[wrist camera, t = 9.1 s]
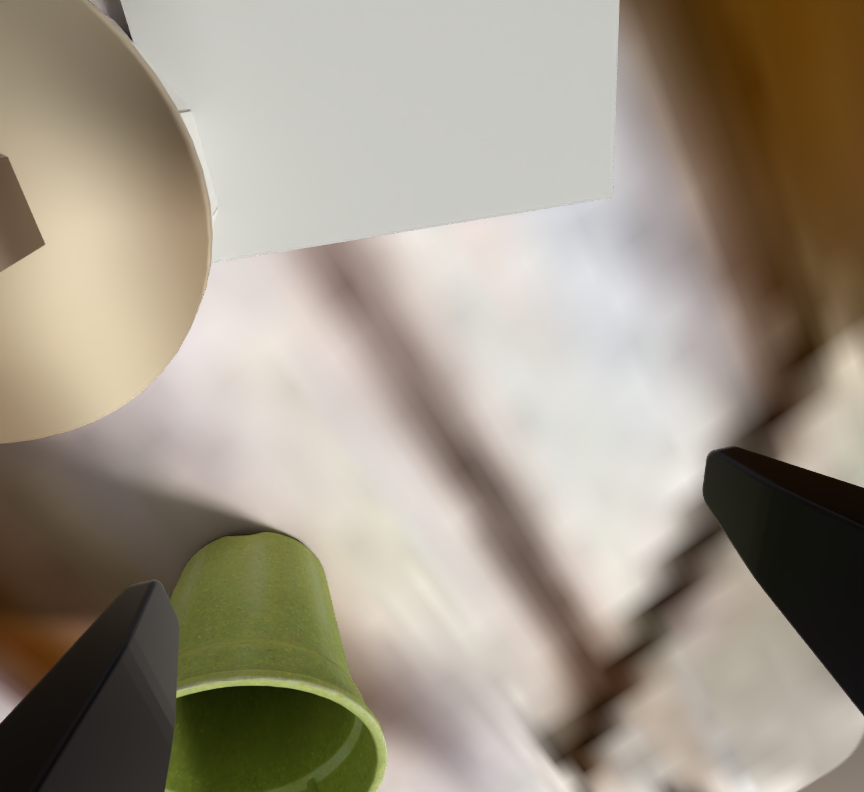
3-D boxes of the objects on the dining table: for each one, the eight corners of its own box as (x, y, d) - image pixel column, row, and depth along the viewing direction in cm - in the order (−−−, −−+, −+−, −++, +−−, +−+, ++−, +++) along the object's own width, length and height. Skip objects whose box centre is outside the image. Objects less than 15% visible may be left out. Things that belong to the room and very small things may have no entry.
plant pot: (88, 610, 24) (-3, 841, 17) (225, 454, 22) (191, 637, 15) (274, 683, 29) (267, 894, 21) (402, 557, 27) (446, 740, 19)
